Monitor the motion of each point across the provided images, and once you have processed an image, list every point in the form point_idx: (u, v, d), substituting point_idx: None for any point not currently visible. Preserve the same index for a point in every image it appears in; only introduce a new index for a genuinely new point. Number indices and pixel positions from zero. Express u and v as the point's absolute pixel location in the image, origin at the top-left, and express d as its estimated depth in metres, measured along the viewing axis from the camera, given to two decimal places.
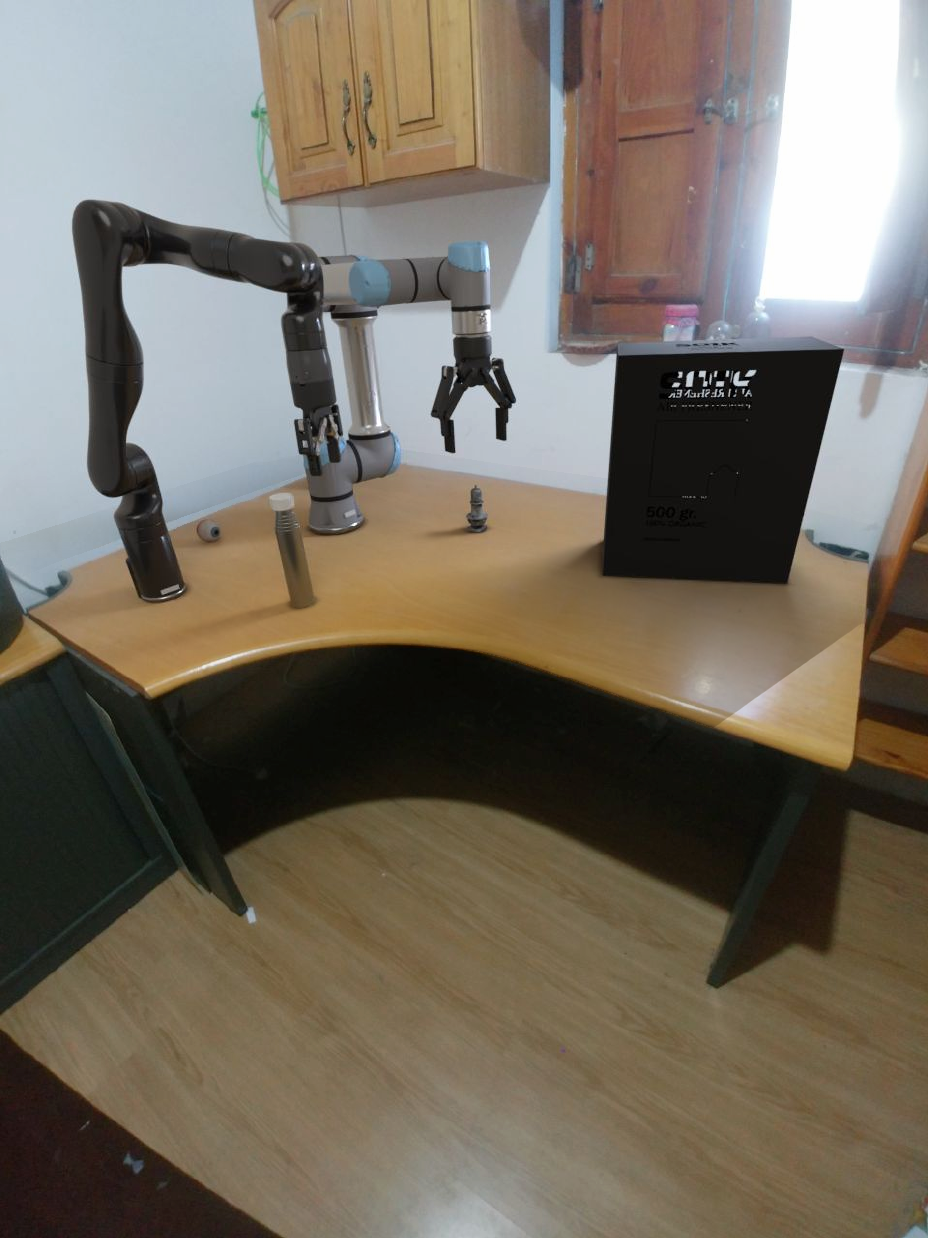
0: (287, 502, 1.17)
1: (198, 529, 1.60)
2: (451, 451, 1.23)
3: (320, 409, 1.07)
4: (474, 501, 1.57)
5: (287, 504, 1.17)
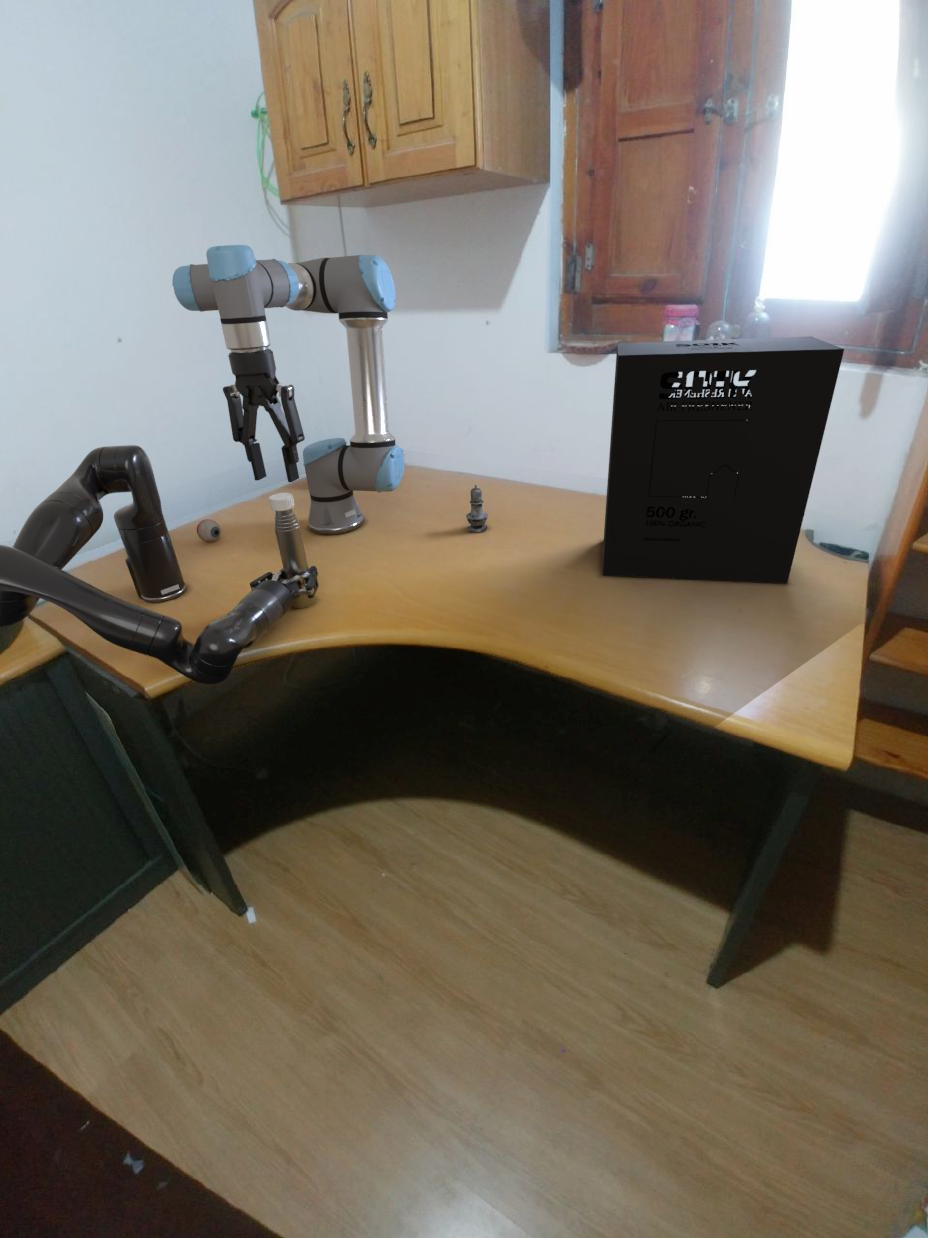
0: (287, 502, 1.17)
1: (198, 529, 1.60)
2: (298, 476, 1.16)
3: None
4: (474, 501, 1.57)
5: (287, 504, 1.17)
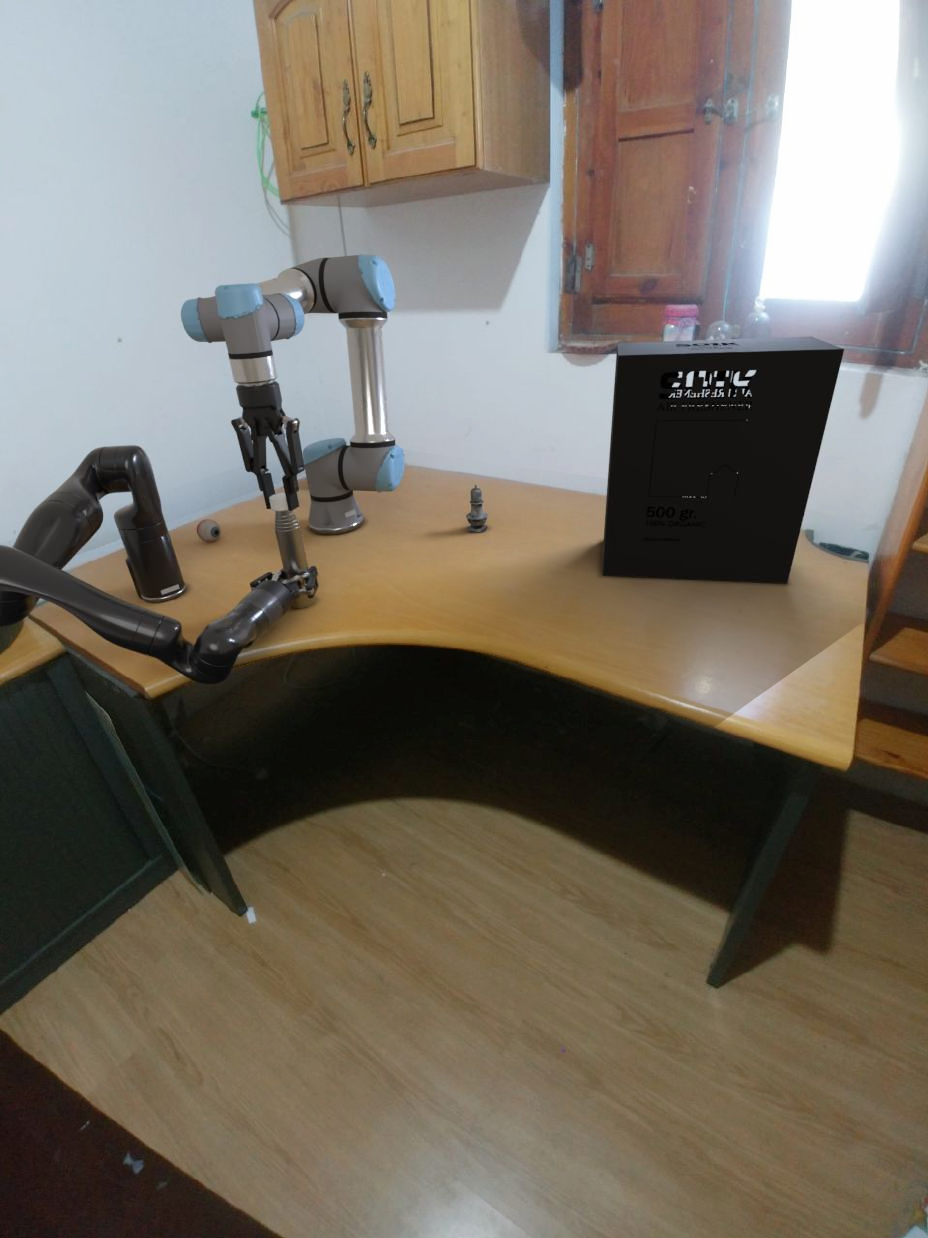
0: None
1: (198, 529, 1.60)
2: (298, 505, 1.19)
3: None
4: (474, 501, 1.57)
5: None
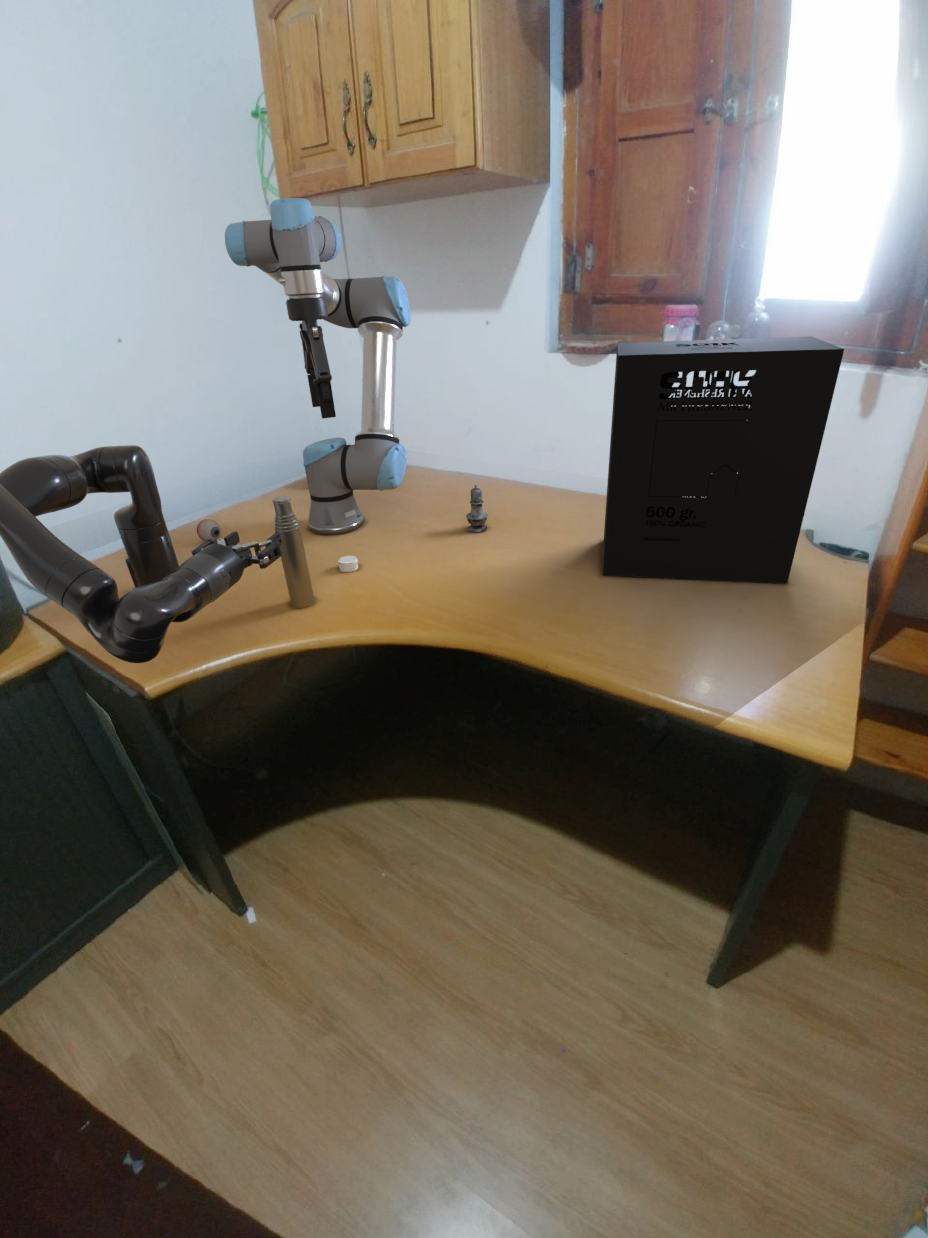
0: None
1: (198, 529, 1.60)
2: None
3: None
4: (474, 501, 1.57)
5: None
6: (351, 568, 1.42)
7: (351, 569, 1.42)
